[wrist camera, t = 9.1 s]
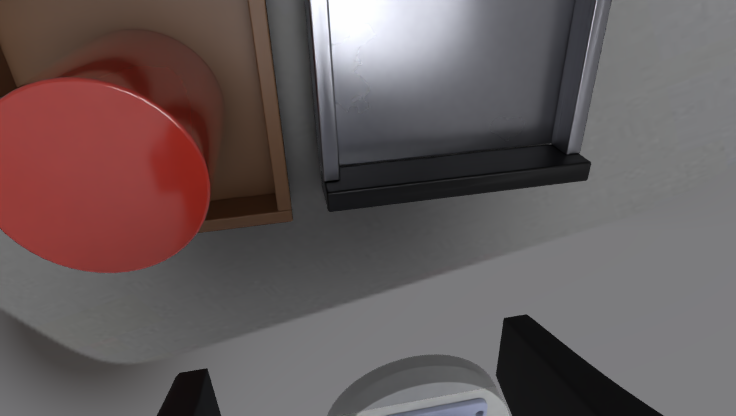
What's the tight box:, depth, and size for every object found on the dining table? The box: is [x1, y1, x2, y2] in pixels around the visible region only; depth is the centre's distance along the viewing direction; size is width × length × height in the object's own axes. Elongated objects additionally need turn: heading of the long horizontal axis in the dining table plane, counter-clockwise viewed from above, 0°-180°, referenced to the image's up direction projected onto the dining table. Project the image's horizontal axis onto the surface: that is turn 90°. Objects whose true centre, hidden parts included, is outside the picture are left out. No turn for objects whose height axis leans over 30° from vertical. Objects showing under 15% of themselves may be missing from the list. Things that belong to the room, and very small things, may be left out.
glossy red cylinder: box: [0, 29, 226, 273], centre depth 14 cm, size 5×5×6 cm
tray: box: [0, 0, 293, 233], centre depth 16 cm, size 8×8×2 cm
